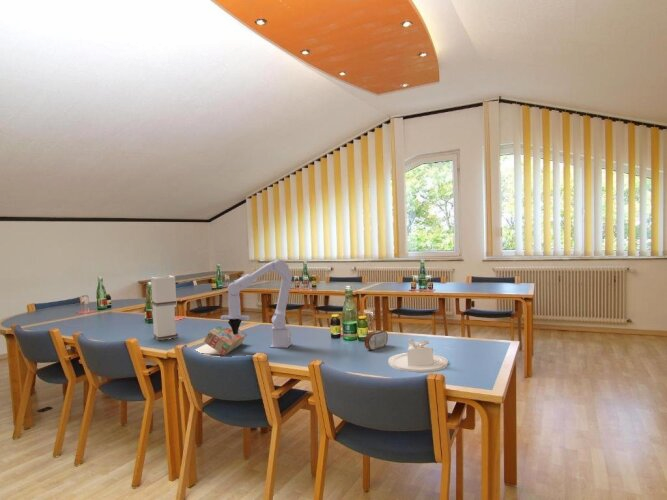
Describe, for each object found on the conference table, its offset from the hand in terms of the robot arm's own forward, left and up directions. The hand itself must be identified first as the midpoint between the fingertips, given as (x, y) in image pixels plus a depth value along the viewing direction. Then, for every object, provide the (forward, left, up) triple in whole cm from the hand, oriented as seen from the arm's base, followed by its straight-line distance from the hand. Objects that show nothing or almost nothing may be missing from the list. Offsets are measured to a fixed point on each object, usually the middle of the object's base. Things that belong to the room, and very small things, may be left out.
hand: (235, 334), depth 213 cm
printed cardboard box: (0, -1, -6) cm, 6 cm away
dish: (-89, +11, -8) cm, 90 cm away
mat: (+12, -2, -8) cm, 15 cm away
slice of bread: (-69, -10, -8) cm, 70 cm away
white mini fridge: (+54, -21, -8) cm, 58 cm away
